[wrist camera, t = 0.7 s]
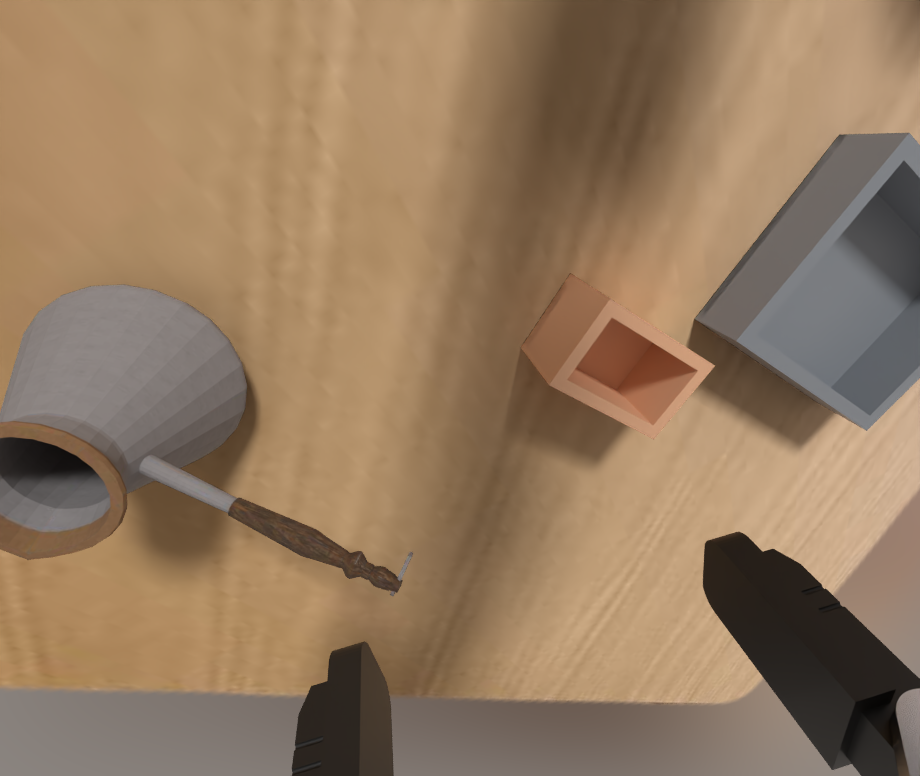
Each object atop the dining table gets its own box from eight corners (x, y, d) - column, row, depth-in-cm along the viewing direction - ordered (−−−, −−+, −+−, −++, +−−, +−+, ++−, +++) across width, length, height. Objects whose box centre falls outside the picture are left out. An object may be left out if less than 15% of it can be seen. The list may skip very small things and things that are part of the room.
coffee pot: (46, 417, 30) (-206, 627, 17) (57, 242, 26) (-265, 341, 13) (372, 485, 37) (373, 674, 24) (423, 354, 33) (459, 496, 19)
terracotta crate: (570, 273, 32) (610, 298, 26) (662, 332, 35) (715, 365, 30) (520, 347, 33) (548, 385, 28) (613, 397, 37) (653, 439, 31)
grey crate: (839, 134, 30) (909, 132, 27) (954, 258, 36) (1026, 272, 32) (694, 318, 35) (736, 340, 31) (818, 403, 41) (866, 430, 37)
